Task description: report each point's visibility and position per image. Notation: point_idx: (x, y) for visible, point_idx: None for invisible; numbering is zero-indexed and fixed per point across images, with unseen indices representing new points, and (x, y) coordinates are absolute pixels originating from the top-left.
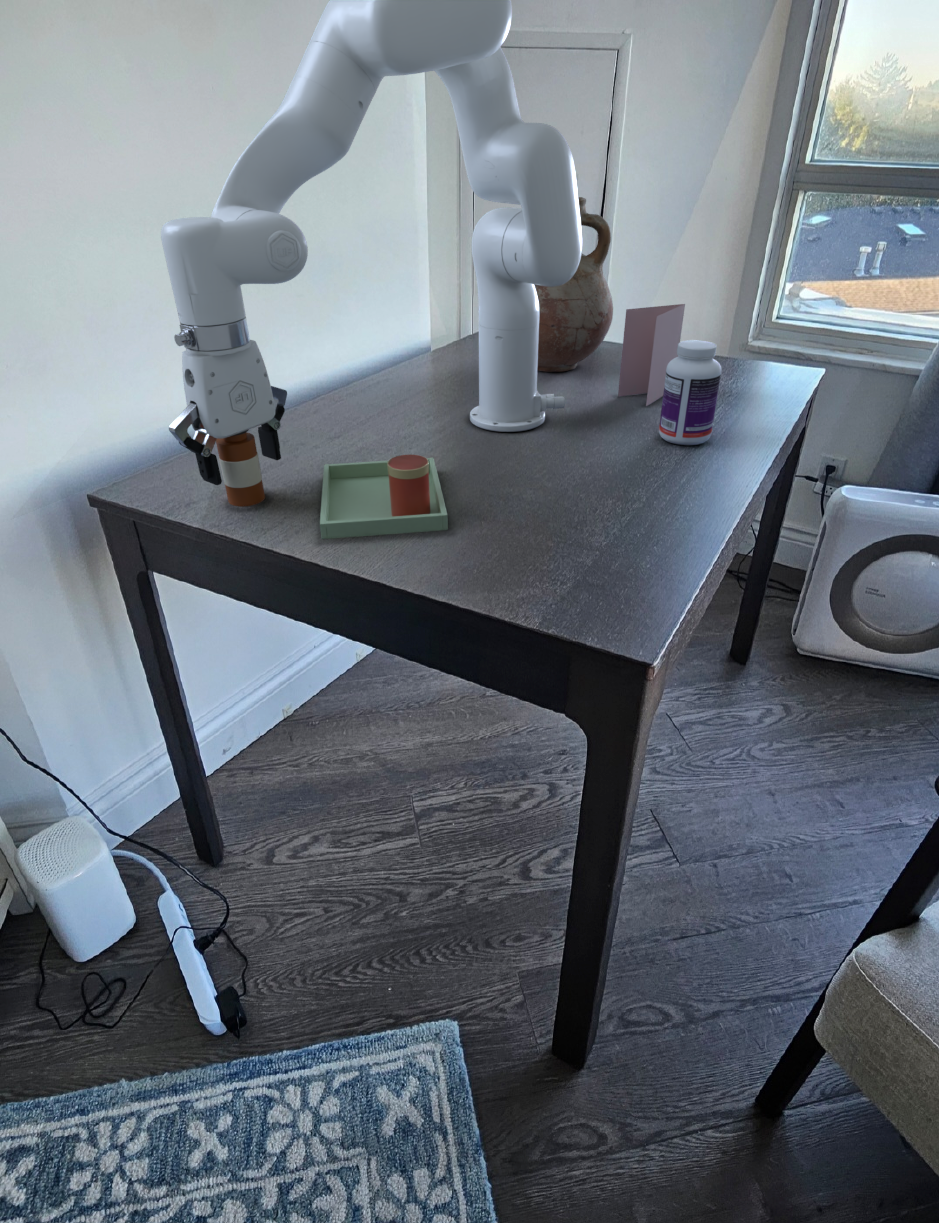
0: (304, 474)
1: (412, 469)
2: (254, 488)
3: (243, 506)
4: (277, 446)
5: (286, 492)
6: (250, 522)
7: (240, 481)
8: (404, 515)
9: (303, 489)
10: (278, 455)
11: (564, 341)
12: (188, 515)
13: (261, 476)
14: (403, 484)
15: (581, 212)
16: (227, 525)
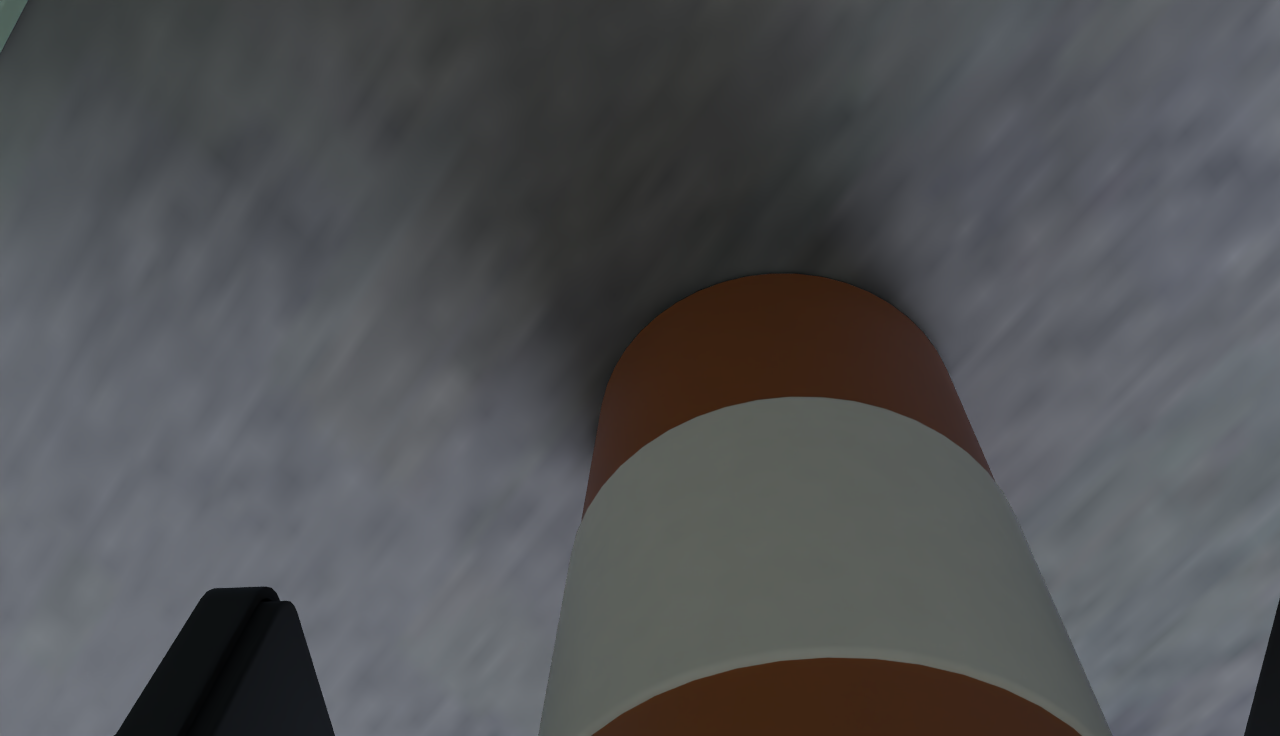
0: (36, 512)
1: None
2: (805, 372)
3: (923, 341)
4: (152, 732)
5: (371, 335)
6: (1086, 34)
7: (980, 494)
8: None
9: (198, 262)
10: (225, 624)
11: None
12: (1270, 600)
13: (621, 480)
14: None
15: None
16: (1270, 170)
